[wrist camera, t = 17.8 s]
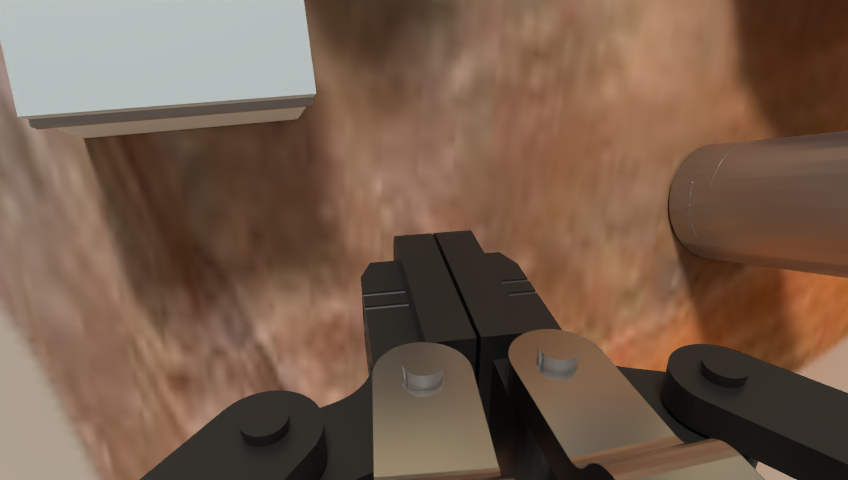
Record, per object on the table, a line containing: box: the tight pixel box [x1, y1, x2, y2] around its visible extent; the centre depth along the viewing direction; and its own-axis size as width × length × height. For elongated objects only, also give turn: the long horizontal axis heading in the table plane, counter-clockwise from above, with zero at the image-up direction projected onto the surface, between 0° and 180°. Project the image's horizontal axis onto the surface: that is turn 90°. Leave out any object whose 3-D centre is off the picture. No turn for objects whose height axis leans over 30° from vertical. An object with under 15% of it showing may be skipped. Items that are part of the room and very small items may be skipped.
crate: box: [26, 95, 314, 138], centre depth 29 cm, size 12×11×9 cm
